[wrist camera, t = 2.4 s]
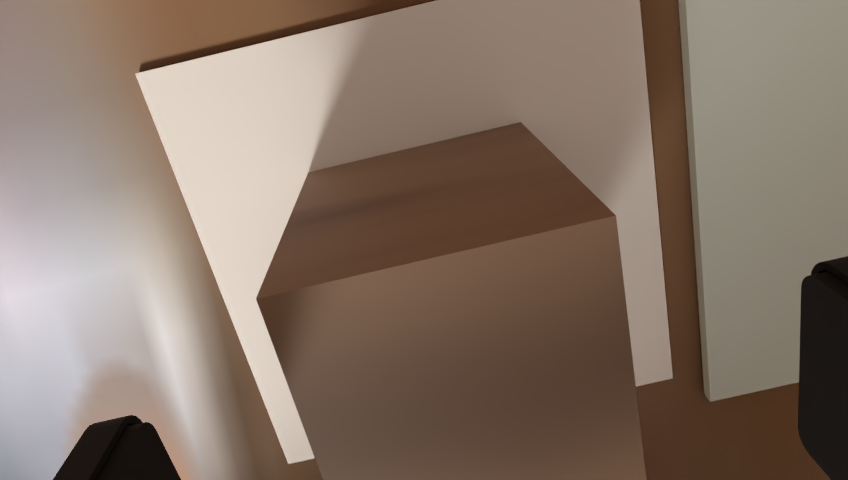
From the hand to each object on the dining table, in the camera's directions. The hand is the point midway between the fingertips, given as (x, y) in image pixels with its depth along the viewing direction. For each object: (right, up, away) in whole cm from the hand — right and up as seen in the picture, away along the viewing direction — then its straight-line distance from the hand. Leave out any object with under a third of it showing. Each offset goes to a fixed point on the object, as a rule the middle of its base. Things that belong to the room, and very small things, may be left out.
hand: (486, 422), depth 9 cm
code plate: (-1, +3, +8) cm, 8 cm away
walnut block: (-1, +3, +8) cm, 8 cm away
